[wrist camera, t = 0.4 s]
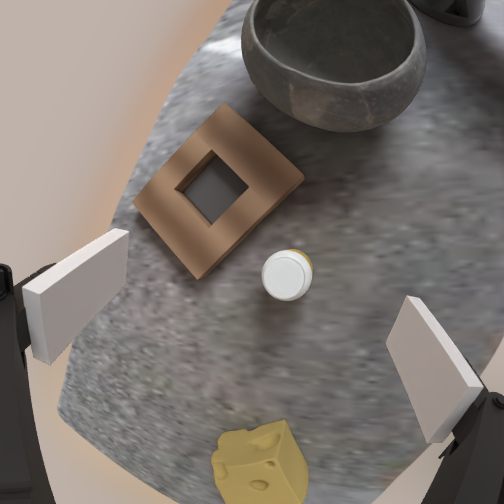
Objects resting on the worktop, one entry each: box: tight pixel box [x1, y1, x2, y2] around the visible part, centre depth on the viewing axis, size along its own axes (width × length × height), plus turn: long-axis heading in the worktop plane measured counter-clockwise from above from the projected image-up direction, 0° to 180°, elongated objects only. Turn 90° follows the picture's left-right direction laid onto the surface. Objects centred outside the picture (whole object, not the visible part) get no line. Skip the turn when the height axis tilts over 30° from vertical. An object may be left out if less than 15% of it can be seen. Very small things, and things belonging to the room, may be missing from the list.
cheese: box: [211, 419, 309, 504], centre depth 38 cm, size 10×11×10 cm
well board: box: [132, 102, 305, 280], centre depth 41 cm, size 18×14×3 cm
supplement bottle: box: [262, 249, 313, 301], centre depth 36 cm, size 5×5×10 cm
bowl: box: [241, 0, 426, 132], centre depth 31 cm, size 20×20×15 cm
